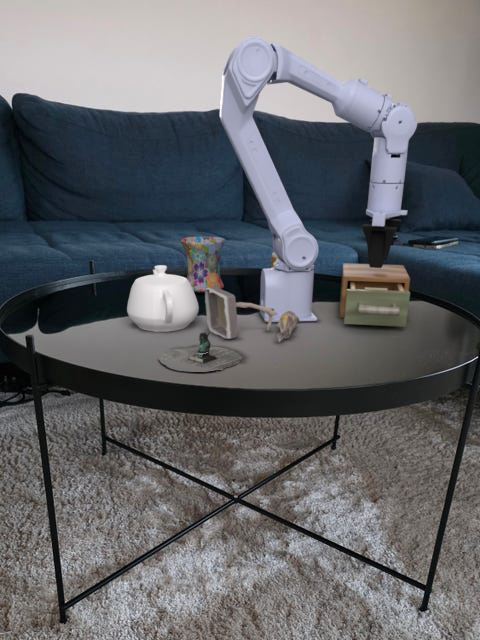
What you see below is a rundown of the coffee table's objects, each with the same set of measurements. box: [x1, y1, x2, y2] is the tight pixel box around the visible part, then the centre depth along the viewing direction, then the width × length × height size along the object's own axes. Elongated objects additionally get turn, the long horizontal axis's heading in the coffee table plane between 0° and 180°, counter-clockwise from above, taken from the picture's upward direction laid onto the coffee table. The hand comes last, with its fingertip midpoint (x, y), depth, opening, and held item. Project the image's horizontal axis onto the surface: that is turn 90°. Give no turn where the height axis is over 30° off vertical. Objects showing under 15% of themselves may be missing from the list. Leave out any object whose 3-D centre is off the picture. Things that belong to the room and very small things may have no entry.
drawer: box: [343, 281, 411, 328], centre depth 103 cm, size 16×10×6 cm, turn 171°
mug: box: [180, 235, 226, 294], centre depth 127 cm, size 12×9×11 cm
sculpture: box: [158, 331, 243, 371], centre depth 88 cm, size 12×9×8 cm
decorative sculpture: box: [204, 287, 300, 343], centre depth 97 cm, size 16×10×7 cm, turn 95°
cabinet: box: [339, 262, 411, 319], centre depth 112 cm, size 13×12×8 cm
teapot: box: [126, 264, 200, 333], centre depth 102 cm, size 20×12×10 cm, turn 14°
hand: (378, 263), depth 107 cm, fingers open, 7 cm apart
